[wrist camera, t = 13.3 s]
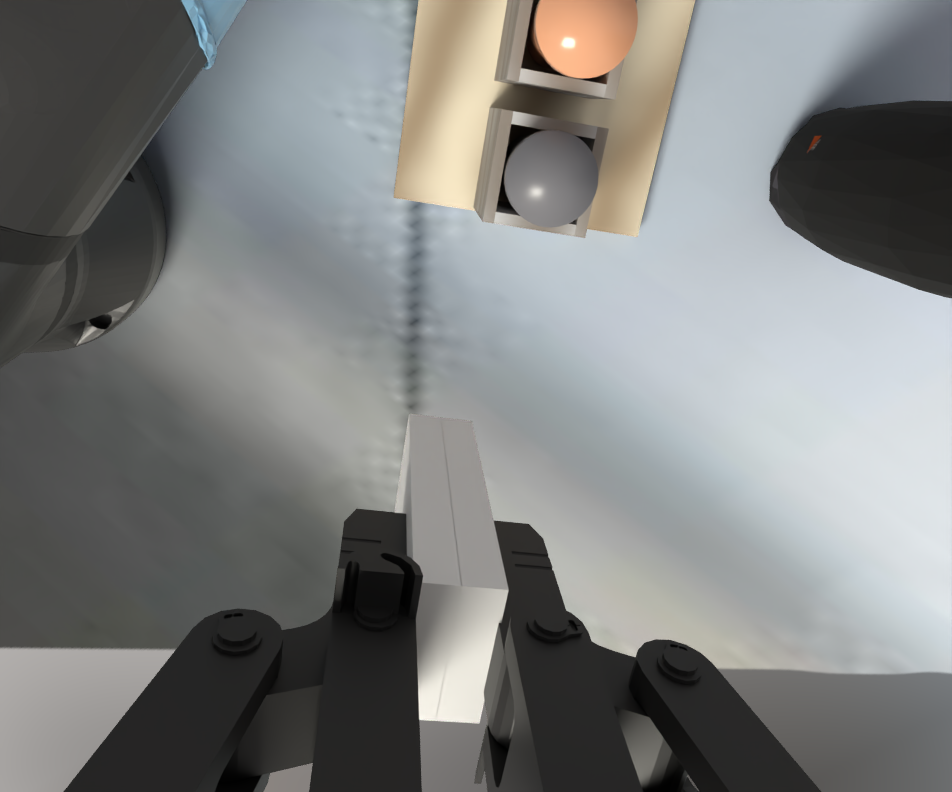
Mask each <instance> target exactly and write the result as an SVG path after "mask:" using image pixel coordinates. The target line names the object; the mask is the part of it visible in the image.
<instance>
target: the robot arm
mask: <svg viewBox="0 0 952 792" xmlns="http://www.w3.org/2000/svg"><path fill="white" fill-rule="evenodd" d="M246 1H247V0H0V368H1V367H3V366H4V365H6V364H7V363H8V362H10V361H11V360H13V359H14V358H16V357H17V356H19V355H20V354H21V353H34V352H52V351H60V350H65V349H69V348H73V347H77V346H80V345H83V344H86V343H88V342H91V341H93V340H95V339H97V338H99V337H101V336H103V335H105V334H106V333H108V332H109V331H111V330H113V329H114V328H115V327H116V326H118V325H119V324H120V323H122V322H123V321H124V320H125V319H126V318H128V317H129V316H130V315H131V314H132V313H133V312H134V311H136V310H137V309H138V307H139V306H140V305H141V304H142V303H143V302H144V300H145V299H146V298H147V296H148V295H149V293H150V292H151V290H152V288H153V286H154V284H155V283H156V280H157V278H158V276H159V273H160V270H161V267H162V263H163V259H164V254H165V247H166V223H165V215H164V209H163V205H162V201H161V197H160V194H159V191H158V188H157V185H156V183H155V180H154V178H153V176H152V174H151V172H150V170H149V168H148V166H147V164H146V163H145V161H144V159H143V158H142V156H141V154H142V153H143V151H144V150H145V148H146V147H147V145H148V144H149V143H150V141H151V140H152V138H153V137H154V136H155V134H156V133H157V131H158V130H159V129H160V127H161V126H162V124H163V123H164V122H165V120H166V119H167V117H168V116H169V115H170V113H171V112H172V110H173V109H174V108H175V106H176V105H177V103H178V102H179V100H180V99H181V98H182V96H183V95H184V93H185V92H186V91H187V89H188V88H189V86H190V85H191V84H192V82H193V81H194V79H195V78H196V77H197V75H198V74H199V72H200V71H201V70H202V68H203V69H205V70H208V69H210V68H211V67H212V65H213V64H214V62H215V59H216V55H217V47H218V45H219V43H220V42H221V40H222V39H223V37H224V36H225V34H226V32H227V31H228V29H229V28H230V26H231V25H232V23H233V22H234V20H235V18H236V17H237V15H238V14H239V12H240V11H241V9H242V7H243V6H244V4H245V3H246ZM484 699H485V706H486V713H487V725H486V729H485V734H484V739H483V743H482V747H481V752H480V756H479V760H478V765H477V770H476V775H475V783H478V784H480V783H481V782H482V778H483V773H484V771H485V775H486V783H487V791H488V792H821V791H820V790H819V789H818V787H817V786H816V785H815V784H814V783H813V781H812V780H811V779H810V778H809V777H808V775H807V774H806V773H805V772H804V771H803V770H802V768H801V767H800V766H799V765H798V764H797V763H796V761H794V759H793V758H792V757H791V755H790V754H789V753H788V752H787V751H786V750H785V748H784V747H783V746H782V745H781V744H780V743H779V741H778V740H777V739H776V738H775V737H774V735H773V734H772V733H771V732H770V731H769V730H768V729H767V727H766V726H765V725H764V724H763V723H762V721H761V720H760V719H759V718H758V717H757V715H756V714H755V713H754V712H753V711H752V710H751V708H750V707H749V706H748V705H747V704H746V702H745V701H744V700H743V699H742V698H741V697H740V696H739V694H738V693H737V692H736V691H735V690H734V688H733V687H732V686H731V685H730V684H729V683H728V681H727V680H726V679H725V678H724V677H723V675H722V674H721V673H720V672H719V671H718V669H717V668H716V667H715V666H714V665H713V664H712V663H711V662H710V661H709V660H708V659H707V658H706V657H705V656H704V655H702V654H701V653H700V652H698V651H696V650H694V649H693V648H691V647H689V646H687V645H685V644H682V643H678V642H675V641H672V640H657V639H656V640H653V641H649V642H646V643H644V644H643V645H642V646H641V647H640V648H639V650H638V652H637V655H636V658H635V657H632V656H628V655H625V654H622V653H618V652H615V651H612V650H609V649H606V648H604V647H601V646H599V645H597V644H595V643H593V642H592V641H591V639H590V636H589V633H588V631H587V629H586V628H585V626H584V624H583V623H582V622H581V621H580V620H579V619H578V618H577V617H575V616H574V615H573V614H572V613H570V612H568V611H566V609H565V606H564V603H563V599H562V596H561V593H560V590H559V587H558V584H557V581H556V578H555V574H554V571H553V570H552V565H551V562H550V559H549V558H548V553H547V549H546V546H545V543H544V540H543V538H542V537H541V536H540V535H539V534H538V533H537V532H536V531H535V530H534V529H533V528H532V527H531V526H530V525H529V524H523V523H513V522H503V521H494V520H493V516H492V511H491V507H490V502H489V497H488V493H487V488H486V484H485V479H484V474H483V470H482V465H481V461H480V456H479V451H478V447H477V442H476V438H475V433H474V428H473V424H472V421H467V420H458V419H450V418H442V417H433V416H425V415H416V414H409V418H408V425H407V432H406V438H405V445H404V452H403V459H402V465H401V472H400V479H399V485H398V492H397V499H396V505H395V512H384V511H374V510H364V509H356V510H355V511H354V512H353V513H352V514H351V515H350V516H349V517H348V518H347V519H346V520H345V521H344V528H343V536H342V543H341V551H340V559H339V566H338V568H337V577H336V585H335V593H334V601H333V604H332V607H331V608H330V610H329V611H328V612H327V614H326V615H324V616H323V617H321V618H320V619H319V620H317V621H315V622H313V623H311V624H308V625H306V626H302V627H297V628H293V629H286V630H281V627H280V625H279V624H278V623H277V622H276V621H275V620H274V619H273V618H271V617H270V616H268V615H266V614H263V613H261V612H258V611H256V610H246V609H233V610H226V611H220V612H218V613H215V614H213V615H210V616H208V617H206V618H204V619H203V620H202V621H201V622H199V623H198V624H197V625H196V626H195V627H194V628H193V629H192V630H191V631H190V633H189V634H188V635H187V636H186V638H185V639H184V640H183V642H182V643H181V644H180V645H179V647H178V648H177V649H176V650H175V652H174V653H173V654H172V656H171V657H170V658H169V659H168V661H167V662H166V663H165V664H164V666H163V667H162V668H161V669H160V671H159V672H158V673H157V675H156V676H155V677H154V678H153V679H152V681H151V682H150V683H149V684H148V686H147V687H146V688H145V690H144V691H143V692H142V693H141V695H140V696H139V697H138V698H137V700H136V701H135V702H134V703H133V705H132V706H131V707H130V708H129V710H128V711H127V712H126V714H125V715H124V716H123V717H122V719H121V720H120V721H119V722H118V724H117V725H116V726H115V727H114V729H113V730H112V731H111V732H110V734H109V735H108V736H107V738H106V739H105V740H104V741H103V743H102V744H101V745H100V746H99V748H98V749H97V750H96V752H95V753H94V754H93V755H92V757H91V758H90V759H89V760H88V762H87V763H86V764H85V765H84V767H83V768H82V769H81V770H80V772H79V773H78V774H77V775H76V777H75V778H74V779H73V780H72V782H71V783H70V784H69V786H68V787H67V788H66V789H65V791H64V792H263V791H264V789H265V787H266V785H267V783H268V779H269V775H270V773H272V772H276V771H280V770H284V769H289V768H293V767H297V766H301V765H305V764H309V763H313V766H312V774H311V782H310V790H309V792H422V788H421V760H420V759H421V758H420V728H419V720H431V721H448V722H465V723H479V722H480V717H481V713H482V709H483V704H484ZM687 775H689V776H690V778H691V779H692V781H693V782H694V783H695V785H696V786H697V788H698V789H699V791H697V789H696V788H695V787H694V786H693V785H692V784H691V782H690V780H689V779H688V777H687Z"/></svg>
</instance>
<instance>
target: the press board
mask: <svg viewBox="0 0 952 792" xmlns="http://www.w3.org/2000/svg"><path fill="white" fill-rule="evenodd" d="M538 2H539V0H419V1H418V9H417V17H416V25H415V33H414V41H413V49H412V57H411V64H410V72H409V80H408V88H407V96H406V104H405V112H404V120H403V127H402V135H401V143H400V151H399V159H398V167H397V175H396V183H395V190H394V198H399V199H405V200H411V201H417V202H424V203H430V204H436V205H442V206H448V207H455V208H461V209H467V210H473V211H476V212H477V214H478V215H479V217H480V218H481V220H482V221H483V222H488V223H494V224H501V225H507V226H513V227H519V228H526V229H532V230H538V231H545V232H551V233H557V234H563V235H570V236H576V237H582V238H585V235H586V231H587V229H591V230H597V231H603V232H609V233H616V234H622V235H628V236H634V237H638V233H639V228H640V224H641V220H642V216H643V212H644V208H645V204H646V200H647V196H648V192H649V188H650V184H651V179H652V175H653V171H654V167H655V163H656V159H657V155H658V151H659V147H660V143H661V139H662V135H663V130H664V126H665V122H666V118H667V114H668V110H669V106H670V102H671V98H672V94H673V90H674V86H675V81H676V77H677V73H678V69H679V65H680V61H681V57H682V53H683V49H684V45H685V41H686V37H687V32H688V28H689V24H690V20H691V16H692V12H693V8H694V4H695V0H635V2H636V6H637V12H638V25H637V31H636V35H635V39H634V42H633V44H632V46H631V48H630V50H629V52H628V53H627V55H626V56H625V58H624V59H623V60H622V61H621V62H620V63H619V64H618V65H617V66H616V67H615V68H614V69H612V70H610V71H609V72H607V73H605V74H603V75H600V76H597V77H593V78H582V79H579V78H572V77H568V76H565V75H563V74H561V73H559V72H557V71H554V70H549V69H546V68H544V67H542V66H540V65H539V64H538V63H536V62H535V60H534V59H533V58H532V57H531V55H530V53H529V52H528V49H527V46H526V37H527V31H528V26H529V20H530V14H531V12H532V10H533V9H534V8H535V7H536V6H537V5H538ZM545 130H559V131H563V132H567V133H570V134H572V135H574V136H576V137H578V138H579V139H581V140H582V141H583V142H584V143H585V144H586V145H587V146H588V147H589V149H590V150H591V151H592V153H593V155H594V157H595V160H596V163H597V167H598V187H597V191H596V194H595V196H594V199H593V201H592V203H591V204H590V206H589V207H588V209H587V210H586V211H585V212H584V213H583V214H582V215H581V216H580V217H579V218H577V219H576V220H574V221H573V222H571V223H568V224H566V225H563V226H559V227H541V226H537V225H534V224H532V223H530V222H528V221H526V220H525V219H524V218H522V217H521V216H520V215H519V214H518V213H517V212H516V211H515V209H514V208H513V207H512V205H511V204H510V202H509V200H508V198H507V195H506V191H505V186H504V184H503V182H502V180H501V179H502V174H503V168H504V162H505V157H506V151H507V146H508V145H509V144H510V143H511V142H512V141H513V140H515V139H516V138H519V137H521V136H524V135H532V134H534V133H537V132H540V131H545Z"/></svg>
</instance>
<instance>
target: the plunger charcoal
mask: <svg viewBox="0 0 952 792" xmlns="http://www.w3.org/2000/svg"><path fill="white" fill-rule="evenodd" d="M501 180H502V182H503V184H504V186H505V191H506V195H507V198H508V200H509V202H510V204H511V205H512V207H513V208H514V209H515V211H516V212H517V213H518V214H519V215H520V216H521V217H522V218H524V219H525V220H526V221H528V222H530V223H532V224H534V225H537V226H541V227H559V226H563V225H566V224H568V223H571V222H573V221H574V220H576V219H577V218H579V217H580V216H581V215H582V214H583V213H584V212H585V211H586V210H587V209H588V207H589V206H590V204H591V203H592V201H593V199H594V196H595V194H596V191H597V187H598V167H597V163H596V160H595V157H594V155H593V153H592V151H591V150H590V149H589V147H588V146H587V145H586V144H585V143H584V142H583V141H582V140H581V139H579V138H578V137H576V136H574V135H572V134H570V133H567V132H563V131H559V130H545V131H540V132H537V133H534V134H532V135H524V136H521V137H519V138H516V139H515V140H513V141H512V142H511V143H510V144H509V145H508V146H507V151H506V157H505V162H504V168H503V174H502V179H501Z"/></svg>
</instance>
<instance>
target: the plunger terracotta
mask: <svg viewBox="0 0 952 792" xmlns="http://www.w3.org/2000/svg"><path fill="white" fill-rule="evenodd" d="M637 25H638V12H637V6H636V2H635V0H539V2H538V5H537V6H536V7H535V8H534V9H533V10H532V12H531V14H530V20H529V26H528V31H527V37H526V46H527V49H528V52H529V53H530V55H531V57H532V58H533V59H534V60H535V62H536V63H538V64H539V65H540V66H542V67H544V68H546V69H549V70H554V71H557V72H559V73H561V74H563V75H565V76H568V77H572V78H579V79H582V78H593V77H597V76H600V75H603V74H605V73H607V72H609V71H610V70H612V69H614V68H615V67H616V66H617V65H618V64H619V63H620V62H621V61H622V60H623V59H624V58H625V56H626V55H627V53H628V52H629V50H630V48H631V46H632V44H633V42H634V39H635V35H636V31H637Z"/></svg>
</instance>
